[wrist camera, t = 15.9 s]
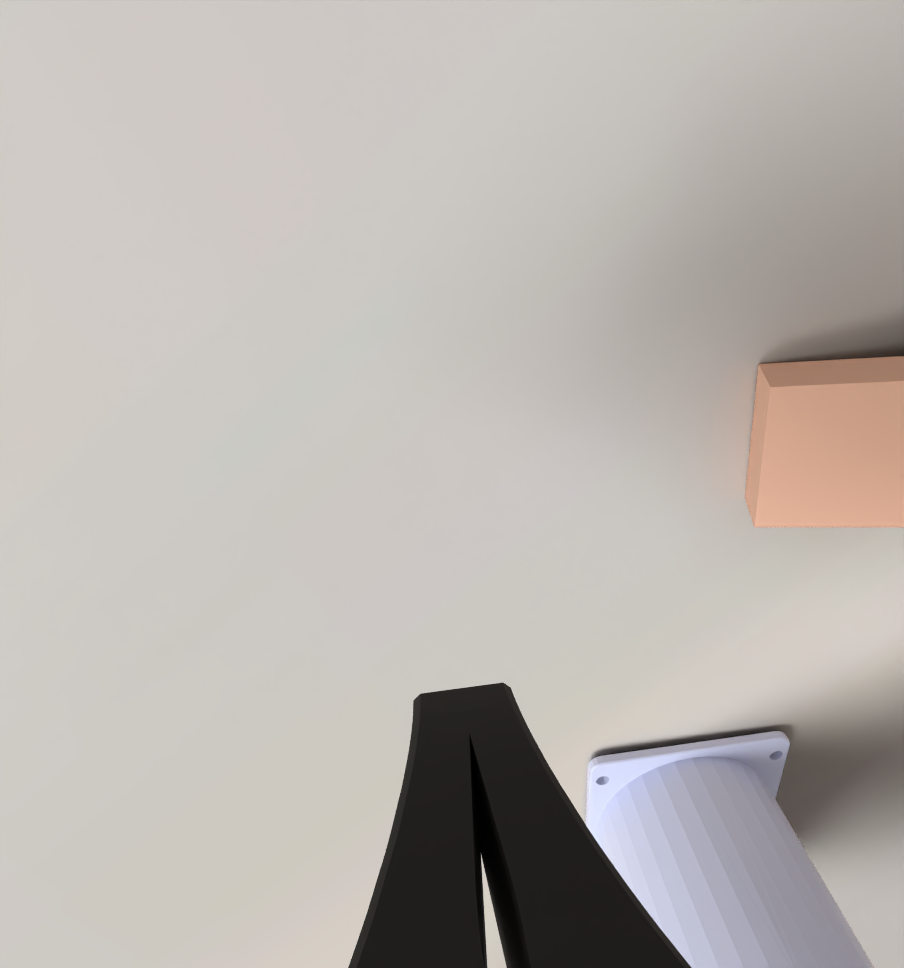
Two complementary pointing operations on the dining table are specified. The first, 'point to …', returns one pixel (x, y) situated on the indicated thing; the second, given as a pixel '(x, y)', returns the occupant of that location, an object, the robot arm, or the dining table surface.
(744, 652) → the dining table surface
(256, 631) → the dining table surface
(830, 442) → the domino
